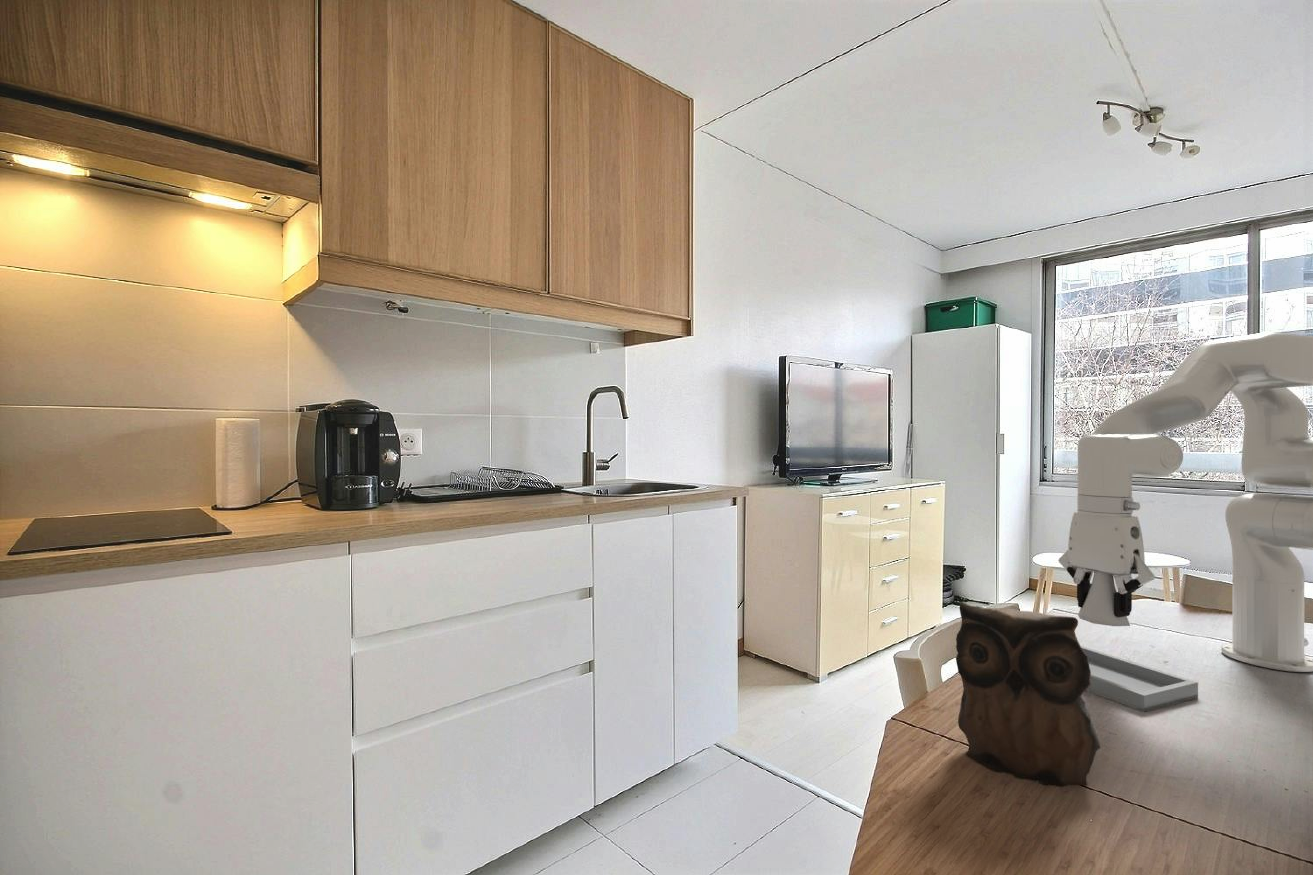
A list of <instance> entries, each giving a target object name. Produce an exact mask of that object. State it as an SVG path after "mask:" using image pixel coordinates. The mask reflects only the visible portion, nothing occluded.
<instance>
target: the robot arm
mask: <svg viewBox="0 0 1313 875" xmlns="http://www.w3.org/2000/svg"><path fill="white" fill-rule="evenodd" d="M1312 386H1313V335H1310V334H1309V335H1308V334H1307V335H1305V334H1296V333H1285V332H1261V333H1255V334H1249V335H1241V336H1233V337H1226V338H1225V337H1224V338H1217V339H1214V340H1210V341H1207V342H1203V343H1202V344H1200V345H1198V346H1196V347H1195V348H1194V349H1193V350H1192V351H1191V352H1190V353H1189V355H1188V356H1187V357H1186V358H1184V360H1183V361H1182V362H1181V363H1180V364H1179V366H1178V367H1177V368H1176V369H1175V371H1174V372H1173V373H1172V374H1171V375H1170V376H1169V377H1168V379H1166V381H1165V382H1164V383H1163V384H1162V385H1161V386H1160V388H1158V389H1157V390H1154V391H1153V392H1151V393H1149V394H1147V395H1144V396H1143V397H1140V398H1139V399H1137V400H1135V401H1132V402H1131V403H1129V404H1127V405H1125V406H1123V407H1121V408H1119V409H1118V410H1116V411H1115V412H1113V413H1111V414H1110V415H1109V416H1108V417H1106V418H1105V419H1104V420H1103V421H1102V422H1101V424H1099V425H1098V426H1097V428H1096V429H1095V430H1094V431H1093V432H1092V433H1091V434H1087V435H1084V436H1082V437H1080V438H1079V440H1078V443H1077V497H1076V498H1077V508H1076V509H1077V511H1073V514H1072V518H1071V522H1070V527H1069V533H1068V543H1067V545H1068V547H1067V550H1066V551H1065V552H1064V553H1063V554H1062V555H1061V556H1060V557H1059V558H1058V563H1059V564H1060V565H1061V566H1062V567H1063V568H1064V569H1065V570H1066V571H1067V573H1068V574H1069V575H1070V577H1071V578H1072V580H1073V583H1074V584H1076V601H1077V606H1078V608H1082V607H1083V604H1084V602H1085V599H1086V596H1087V594H1088V591H1089V589H1090V587H1091V585H1092V582H1091V579H1092V576H1093V575H1094V571H1097V572H1102V573H1107V574H1113V579H1114V584H1115V587H1116V590H1117V593H1114V615H1115V616H1116V617H1125V616H1127V617H1129V616H1130V615H1131V612H1132V611H1133V610H1132V608H1133V606H1132V605H1133V603H1132V602H1133V596H1132V595H1133V594H1132V593H1135V592H1136V591H1137V590H1138V589H1140V588H1141V587H1143V586H1144V585H1145V584H1147V583H1150V582H1152V581H1153V580H1154V579H1156V575H1155V574H1154V573H1153V572H1152V570H1151V569H1150V568H1149V566H1148V565H1147V564H1146V561H1145V560H1146V559H1145V548H1144V539H1143V533H1142V532H1143V531H1142V528H1141V524H1140V521H1139V517H1138V516H1135V515H1133V513H1134V511H1139V510H1140V509H1141V504H1140V502H1138V501H1134V498H1133V477H1136V478H1152V479H1153V478H1164V477H1167V476H1169V475H1171V474H1174V473H1175V472H1176V471H1177V470H1178V469H1179V468H1180V467H1181V465H1182V463H1183V461H1184V453H1183V449H1182V447H1181V446H1180V444H1179V443H1178V442H1177V441H1175V440H1174V439H1172V438H1171V437H1168V436H1166V435H1162V434H1158V433H1161V432H1167V431H1170V430H1174V429H1178V428H1183V427H1186V426H1189V425H1191V424H1194V423H1197V422H1200V421H1203V420H1205V419H1206V418H1208V417H1210V415H1212V413H1213V412H1214V411H1215V410H1216V408H1217V407H1219V404H1220V403H1222V401H1223V400H1225V397H1226V396H1227V395H1228V394H1229V393H1232V394H1233V395H1234V396H1235V398H1236V399H1237V400H1238V402H1239V403H1240V405H1241V407H1242V410H1243V415H1244V428H1243V437H1242V449H1241V462H1240V463H1241V468H1240V469H1241V473H1242V476H1243V478H1244V479H1245V480H1246V481H1248V483H1251V484H1253V485H1256V486H1263V487H1269V488H1270V487H1272V488H1285V489H1286V488H1287V489H1299V490H1300V489H1301V490H1313V436H1309V419H1310V418H1309V417H1310V416H1309V414H1310V413H1309V410H1308V408H1307V406H1306V405H1305V403H1304V402H1303V401H1302V400H1301V399H1300V398H1299V397H1298V395H1296V394H1295V393H1293V392H1292V390H1290V389H1289V388H1296V387H1312ZM1224 516H1225V522H1226V527H1227V531H1228V534H1229V539H1230V544H1231V555H1232V630H1231V631H1232V633H1231V634H1232V635H1231V636H1232V639H1231V640H1232V642H1230V643H1225V644H1222V645H1221V652H1222V653H1223V654H1224V655H1225V656H1227V657H1229V658H1231V659H1233V660H1236V661H1239V662H1242V663H1245V664H1249V665H1252V666H1256V667H1261V668H1266V669H1271V670H1277V671H1285V672H1292V673H1294V672H1295V673H1312V672H1313V659H1312V658H1310V657H1308V656H1306V655H1305V647H1307V646H1308V645H1309V640H1308V639H1307V638H1305V579H1306V578H1305V570H1304V567H1303V565H1302V563H1301V562H1300V560H1299V559H1298V557H1297V556H1296V554H1294V552H1293V550H1292V549H1291V548H1295V549H1303V550H1309V551H1310V550H1311V551H1313V496H1302V495H1301V496H1299V495H1293V494H1292V495H1291V494H1278V493H1263V492H1260V493H1259V492H1258V493H1256V492H1255V493H1253V492H1252V493H1245V494H1241V495H1238V496H1236V497H1234V498H1232V500H1230V501H1229V503H1228V504H1227V506H1226V508H1225V515H1224ZM1133 575H1138V576H1136V577H1135V578H1133Z"/></svg>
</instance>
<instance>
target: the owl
mask: <svg viewBox="0 0 1313 875" xmlns="http://www.w3.org/2000/svg"><path fill="white" fill-rule="evenodd" d="M959 614H960V618H961V626H960V629H959V631H958V632H957V634H956V638H955V640H956V642H955V643H956V645H955V648H956V652H957V654H956V656H955V662H956V666H957V672H958V674H959V676H960V678H961V682H962V687H963V689H962V690H963V691H962V695H961V699H960V708H959V714H958V717H957V718H958V719H957V724H958V727H959V729H960V731H961V732H963V734H964V735H965V737H966V740H967V743H968V749H967V751H966V752H965V754H966V756H967V758H969V759H970V760H972V761H974V762H975V763H977V764H978V765H981V766H982V767H984V768H985V769H986V770H990V771H991V772H995V773H1000V774H1001V773H1002V774H1003V773H1004V774H1010V775H1012V776H1014V778H1016V779H1020V780H1030V781H1034V782H1037V783H1038V784H1040V785H1043V786H1045V787H1046V786H1054V787H1065V786H1083V787H1084V786H1085V787H1086V786H1088V781H1087V776H1088V775H1089V773H1090V770H1091V768H1092V765H1093V763H1094V760H1095V756H1096V753H1097V751H1098V750H1099V749H1101V745H1100V742H1099V738H1098V735H1097V733H1096V729H1095V728H1094V725H1093V722H1092V719H1091V715H1090V714H1089V712H1088V709H1087V707H1086V702H1085V701H1086V700H1084V699H1083V698H1082V696H1083V694H1084V693H1085V692H1086V691H1087V690H1086V689H1087V688H1088V687H1089V686H1090V685H1091V683H1090V676H1091V671H1090V667H1089V663H1088V659H1087V658H1088V656H1087V655H1086V654H1085V653H1084V652H1083V650H1082V648H1081V646H1082V645H1081V644H1080V642H1079V640H1078V637H1077V635H1076V629H1077V627H1078V625H1079V620H1078V618H1076V617H1075V616H1074V617H1073V616H1067V615H1066V616H1064V615H1052V614H1046V613H1042V612H1035V611H1030V610H1017V609H1013V608H1008V607H1007V608H1005V607H1004V608H1003V607H1002V608H999V607H998V608H996V607H983V606H979V605H970V604H967V603H966V602H965V601H962V602H960V603H959Z"/></svg>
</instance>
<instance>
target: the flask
mask: <svg viewBox="0 0 1313 875" xmlns="http://www.w3.org/2000/svg"><path fill="white" fill-rule="evenodd" d="M1092 576H1093V578H1092V581H1091V584H1092V585H1091V587H1090V589H1089V591H1088V594H1087V596H1086V599H1085V602H1084V604H1083V607H1082V608H1081V607H1079V611H1078V613H1077V616H1078V618H1079V619H1081V620H1082V621H1086V622H1089V623H1091V624H1094V625H1101V626H1109V627H1130V626H1131V623H1130V622H1129V619H1128V616H1125V617H1116V616H1115V615H1114V593H1117V592H1118V590H1117V587H1116V583H1115V580H1114V576H1113V574H1107V573H1102V572H1097V571H1094V572H1093V575H1092Z"/></svg>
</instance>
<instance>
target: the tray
mask: <svg viewBox="0 0 1313 875" xmlns="http://www.w3.org/2000/svg"><path fill="white" fill-rule="evenodd" d="M1080 646H1081V648H1082V650H1083V652H1084V653H1085V654H1086V655H1087V656H1088V658H1087V659H1088V663H1089V667H1090V671H1091V676H1090V683H1091V685H1090V686H1089V687H1088V688H1087V689H1086V690H1085V691H1087V692H1089V693H1093V694H1095V695H1097V696H1101V697H1103V698H1106V699H1108V700H1110V701H1111V700H1112V701H1114V702H1116V703H1119V704H1122V705H1124V706H1126V707H1130V708H1133V709H1135V710H1138V711H1140V712H1143V713H1146V712H1150V711H1153V710H1157V709H1161V708H1165V707H1169V706H1173V705H1176V704H1177V705H1178V704H1179V703H1183V702H1187V701H1192V700H1196V699H1198V698H1199V682H1198V681H1194V680H1191V679H1189V678H1185V677H1182V676H1178V675H1176V674H1173V673H1172V674H1171V673H1170V672H1166V671H1163V670H1159V669H1156V668H1153V667H1149V666H1147V665H1144V664H1140V663H1137V662H1133V661H1130V660H1127V659H1124V658H1121V657H1117V656H1115V655H1111V654H1108V653H1105V652H1101V651H1098V650H1095V649H1092V648H1090V647H1089V648H1088V647H1085V646H1082V645H1080Z"/></svg>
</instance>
